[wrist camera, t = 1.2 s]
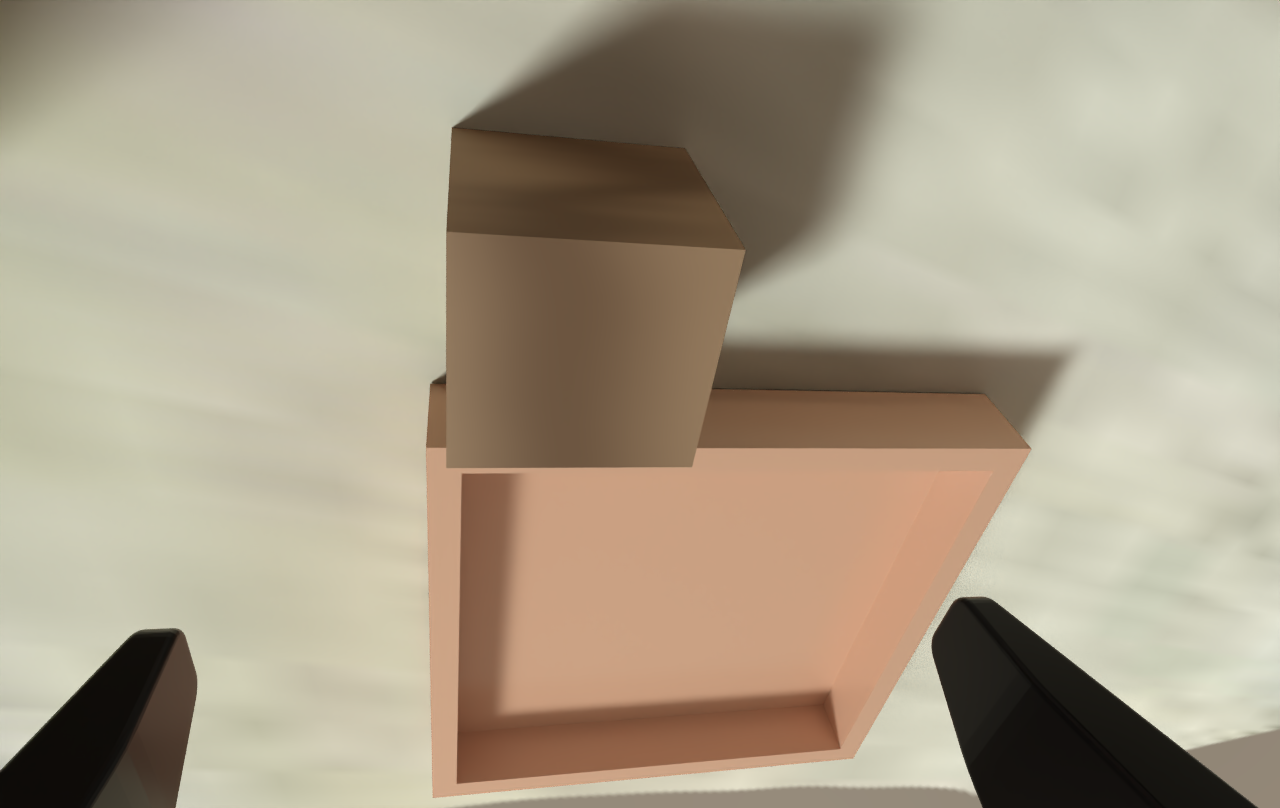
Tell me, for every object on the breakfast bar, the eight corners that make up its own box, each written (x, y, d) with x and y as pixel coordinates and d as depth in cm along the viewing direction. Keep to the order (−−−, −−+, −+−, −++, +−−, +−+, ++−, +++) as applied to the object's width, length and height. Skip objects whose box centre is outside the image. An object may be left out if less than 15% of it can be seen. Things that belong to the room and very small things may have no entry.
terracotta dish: (984, 393, 23) (1031, 448, 22) (830, 701, 33) (853, 758, 31) (430, 383, 20) (426, 447, 18) (435, 731, 29) (432, 797, 27)
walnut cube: (684, 146, 17) (745, 250, 14) (649, 337, 20) (692, 467, 16) (452, 126, 16) (446, 232, 12) (451, 331, 19) (446, 468, 15)
